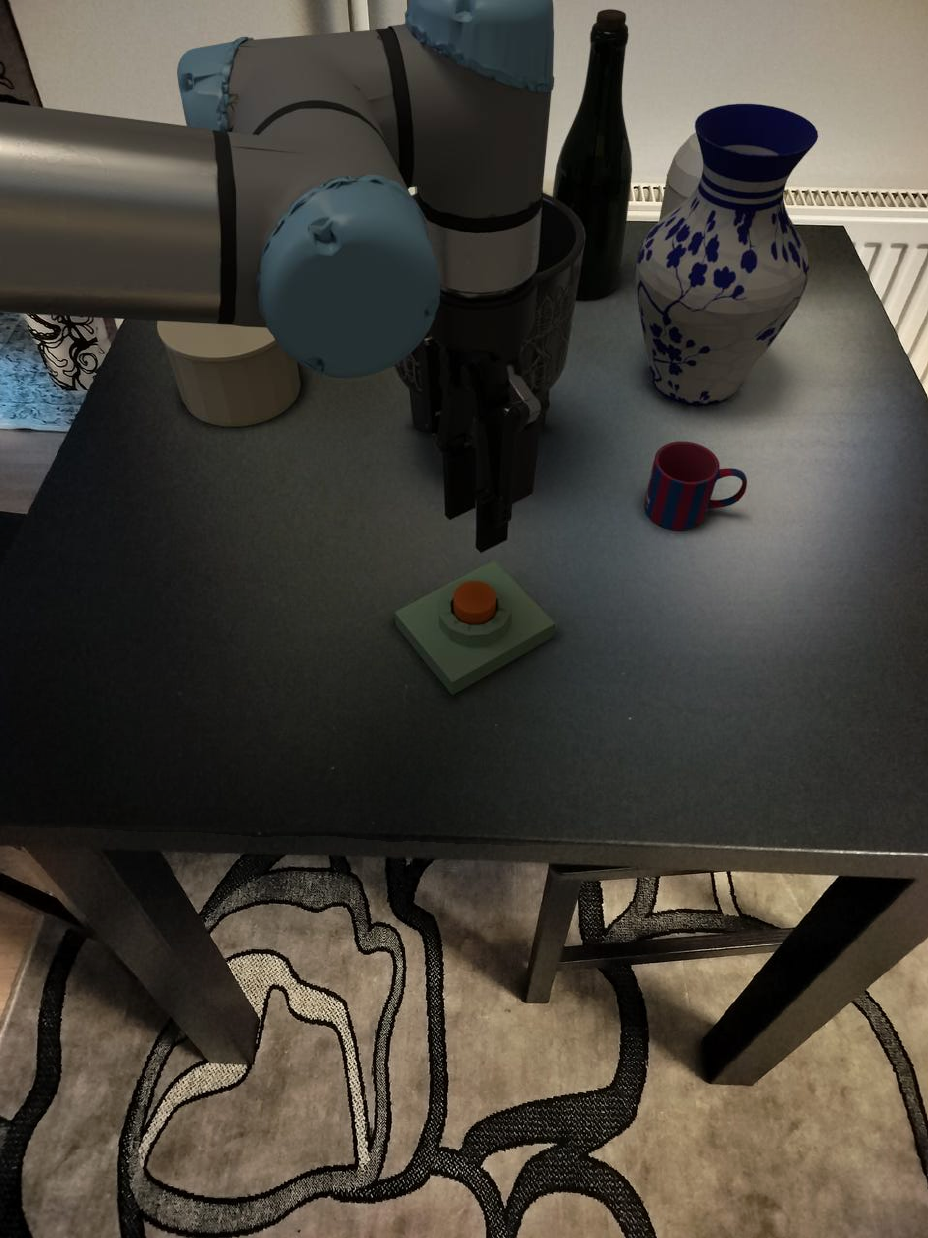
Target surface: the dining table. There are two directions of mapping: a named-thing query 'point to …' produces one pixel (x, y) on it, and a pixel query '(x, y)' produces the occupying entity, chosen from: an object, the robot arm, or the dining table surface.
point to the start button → (474, 602)
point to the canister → (237, 387)
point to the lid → (214, 340)
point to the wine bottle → (599, 158)
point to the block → (474, 629)
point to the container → (682, 175)
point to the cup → (686, 485)
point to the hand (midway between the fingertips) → (475, 526)
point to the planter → (552, 313)
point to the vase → (725, 257)
